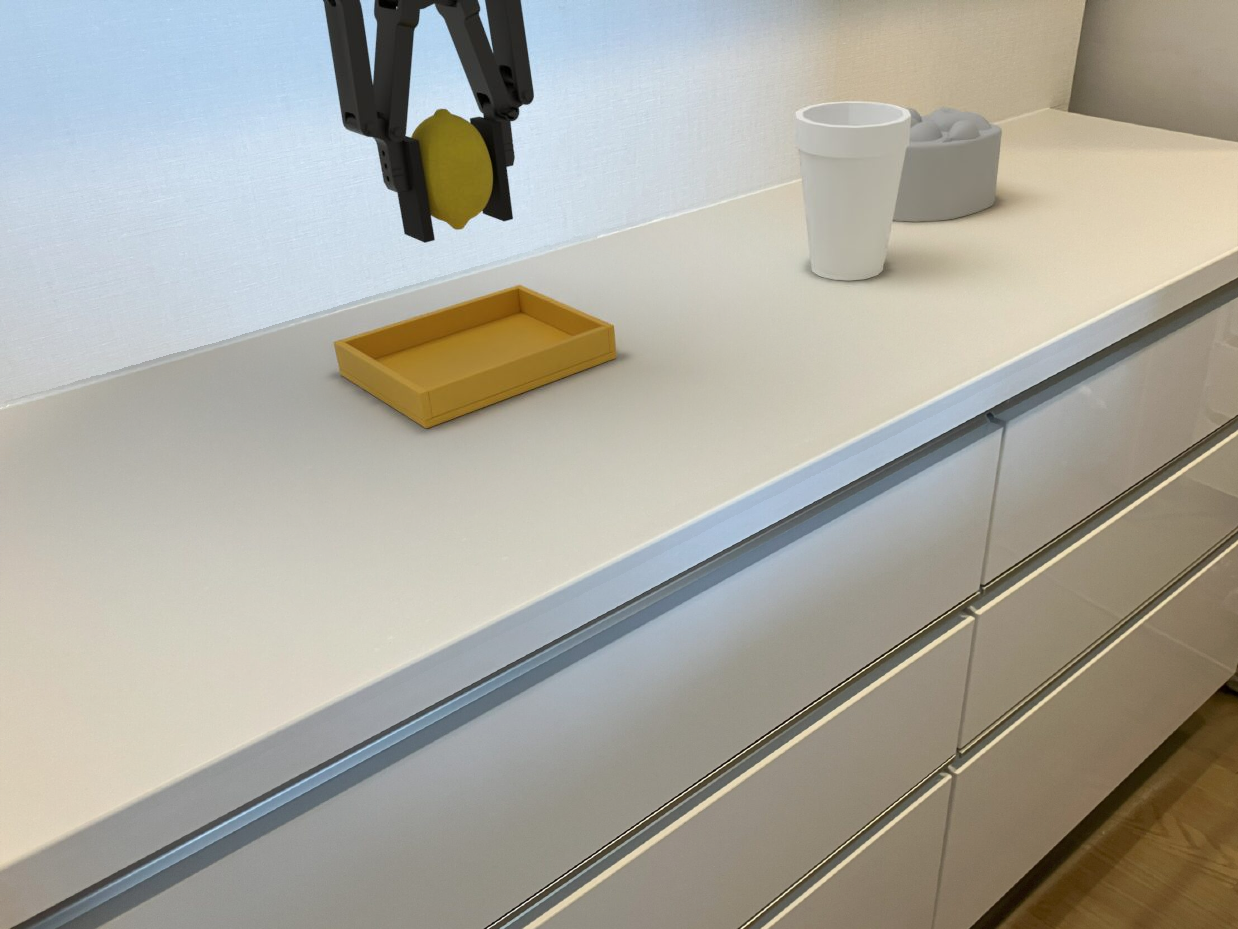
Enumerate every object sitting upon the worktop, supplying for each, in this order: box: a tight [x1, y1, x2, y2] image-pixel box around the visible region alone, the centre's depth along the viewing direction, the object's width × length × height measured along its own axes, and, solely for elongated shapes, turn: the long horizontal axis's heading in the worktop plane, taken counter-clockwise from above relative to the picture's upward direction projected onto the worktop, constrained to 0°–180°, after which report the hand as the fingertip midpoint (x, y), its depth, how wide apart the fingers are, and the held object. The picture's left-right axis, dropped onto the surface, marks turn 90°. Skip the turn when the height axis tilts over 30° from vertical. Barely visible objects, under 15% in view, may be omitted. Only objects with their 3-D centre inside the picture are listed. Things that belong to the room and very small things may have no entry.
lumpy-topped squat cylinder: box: [893, 106, 1003, 223], centre depth 113 cm, size 10×13×9 cm
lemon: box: [410, 108, 493, 231], centre depth 77 cm, size 6×6×8 cm
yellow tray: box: [333, 284, 617, 429], centre depth 84 cm, size 16×12×3 cm
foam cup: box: [794, 100, 911, 282], centre depth 97 cm, size 10×9×13 cm
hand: (459, 225), depth 79 cm, fingers closed on lemon, 5 cm apart
